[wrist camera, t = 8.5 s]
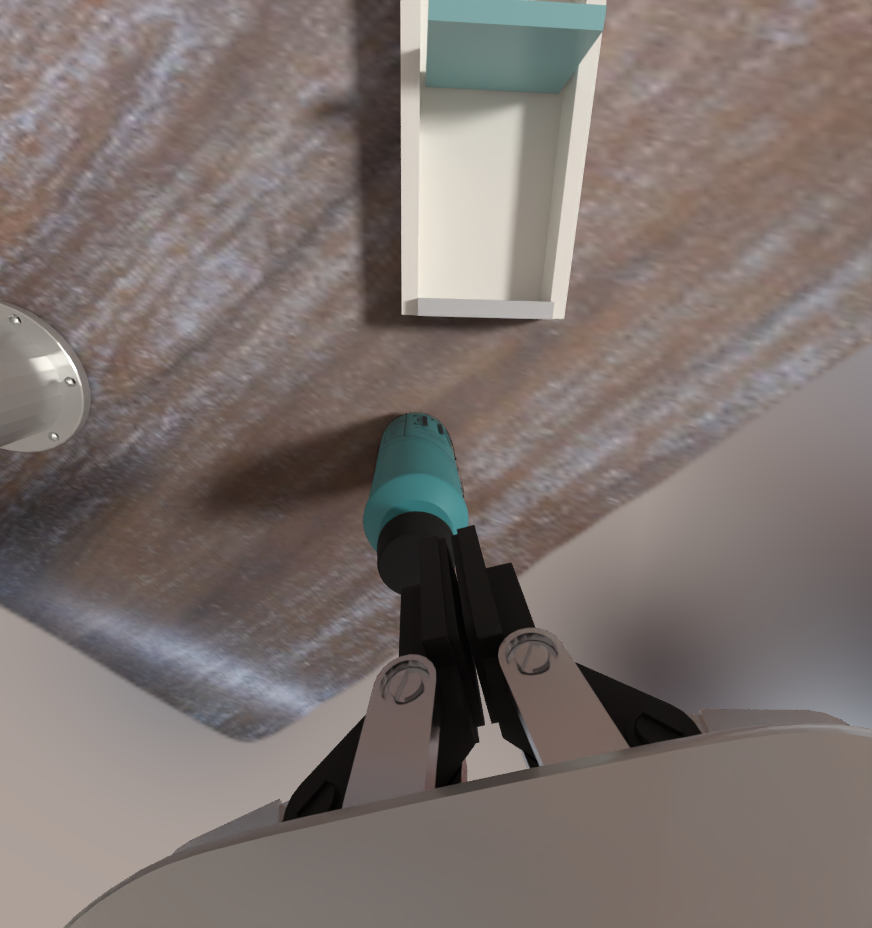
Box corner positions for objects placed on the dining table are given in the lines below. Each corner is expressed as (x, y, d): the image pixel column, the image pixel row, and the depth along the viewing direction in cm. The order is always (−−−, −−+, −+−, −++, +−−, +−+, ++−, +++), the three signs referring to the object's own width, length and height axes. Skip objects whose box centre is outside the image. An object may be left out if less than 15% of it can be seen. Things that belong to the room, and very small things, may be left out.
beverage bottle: (377, 467, 40) (343, 618, 21) (384, 399, 38) (353, 503, 19) (445, 475, 41) (469, 629, 22) (456, 409, 38) (494, 519, 20)
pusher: (425, 86, 29) (428, 20, 22) (425, 67, 28) (428, -6, 21) (558, 93, 29) (602, 30, 22) (560, 75, 29) (606, 5, 22)
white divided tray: (402, 312, 35) (401, 315, 31) (401, -152, 25) (398, -238, 21) (550, 316, 35) (568, 319, 31) (605, -136, 26) (641, -216, 22)
